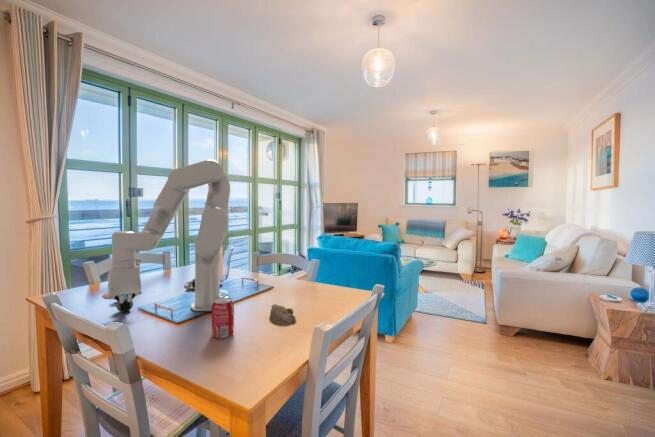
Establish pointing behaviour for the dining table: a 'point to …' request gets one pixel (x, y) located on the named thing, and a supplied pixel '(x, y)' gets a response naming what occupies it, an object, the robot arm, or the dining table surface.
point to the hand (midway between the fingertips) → (125, 311)
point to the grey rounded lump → (124, 300)
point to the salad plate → (191, 285)
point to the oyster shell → (281, 315)
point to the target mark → (105, 295)
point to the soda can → (222, 317)
